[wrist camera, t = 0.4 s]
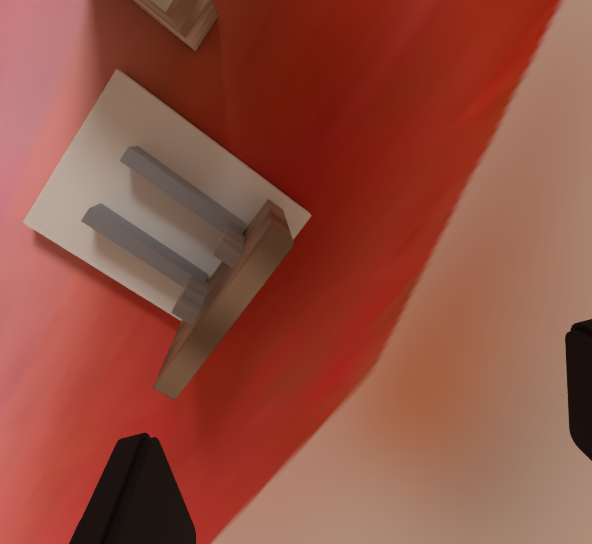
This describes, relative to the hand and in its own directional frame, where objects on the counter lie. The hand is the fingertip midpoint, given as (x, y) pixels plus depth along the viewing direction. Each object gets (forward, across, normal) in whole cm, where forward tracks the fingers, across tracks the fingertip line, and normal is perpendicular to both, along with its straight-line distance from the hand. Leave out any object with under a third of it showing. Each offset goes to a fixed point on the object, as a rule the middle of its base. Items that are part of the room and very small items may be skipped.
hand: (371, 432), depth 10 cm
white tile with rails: (+29, +9, -2) cm, 30 cm away
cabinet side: (+27, +6, +2) cm, 28 cm away
